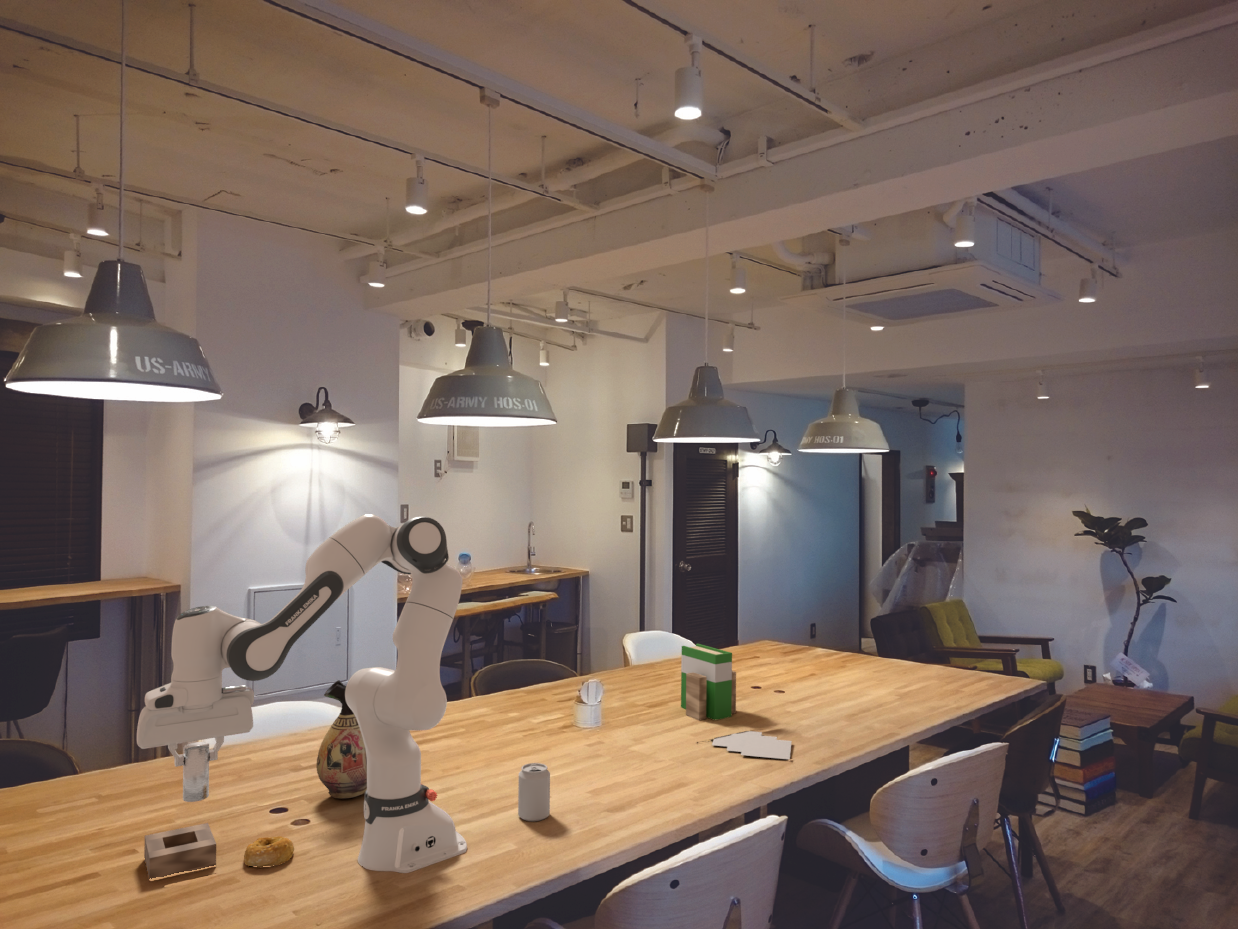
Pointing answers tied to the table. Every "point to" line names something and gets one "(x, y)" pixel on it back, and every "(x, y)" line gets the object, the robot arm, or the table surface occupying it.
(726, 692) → the hardback book
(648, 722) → the table surface
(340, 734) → the ceramic jug
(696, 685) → the bookend near
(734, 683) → the bookend far
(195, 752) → the part
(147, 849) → the pocket block
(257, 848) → the bagel
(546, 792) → the can
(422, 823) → the robot arm
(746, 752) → the paper stack
